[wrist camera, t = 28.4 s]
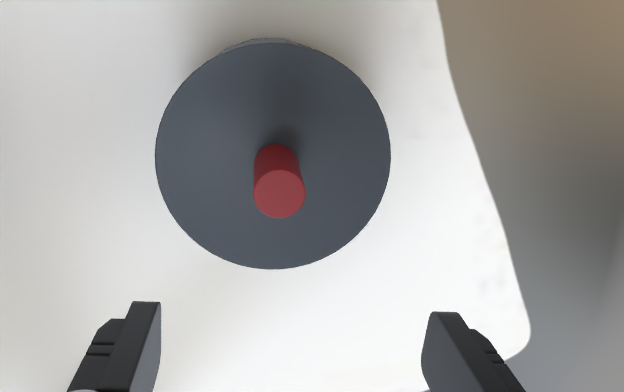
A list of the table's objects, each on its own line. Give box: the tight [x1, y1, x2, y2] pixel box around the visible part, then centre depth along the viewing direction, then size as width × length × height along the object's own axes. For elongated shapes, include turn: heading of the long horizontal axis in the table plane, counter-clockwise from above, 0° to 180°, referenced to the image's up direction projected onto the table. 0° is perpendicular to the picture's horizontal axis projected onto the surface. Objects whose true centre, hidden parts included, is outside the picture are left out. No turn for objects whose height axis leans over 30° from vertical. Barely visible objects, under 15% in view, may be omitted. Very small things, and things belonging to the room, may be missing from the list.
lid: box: [155, 42, 391, 269], centre depth 30 cm, size 15×15×7 cm
